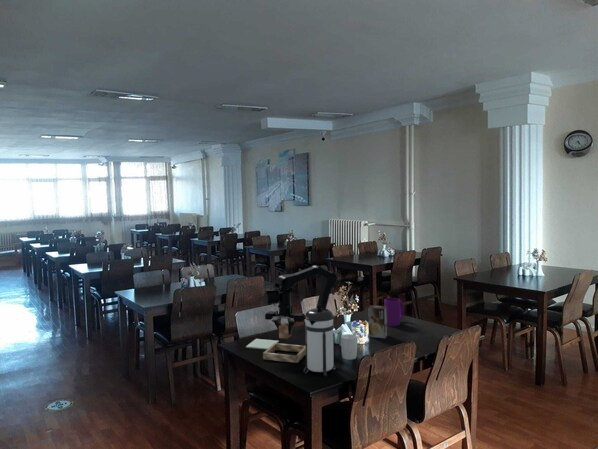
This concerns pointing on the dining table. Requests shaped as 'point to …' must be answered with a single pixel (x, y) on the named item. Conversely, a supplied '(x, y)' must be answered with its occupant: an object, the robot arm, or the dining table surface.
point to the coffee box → (377, 321)
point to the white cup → (349, 346)
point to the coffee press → (319, 340)
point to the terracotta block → (284, 330)
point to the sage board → (261, 344)
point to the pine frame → (283, 357)
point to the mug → (394, 311)
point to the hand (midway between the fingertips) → (285, 334)
